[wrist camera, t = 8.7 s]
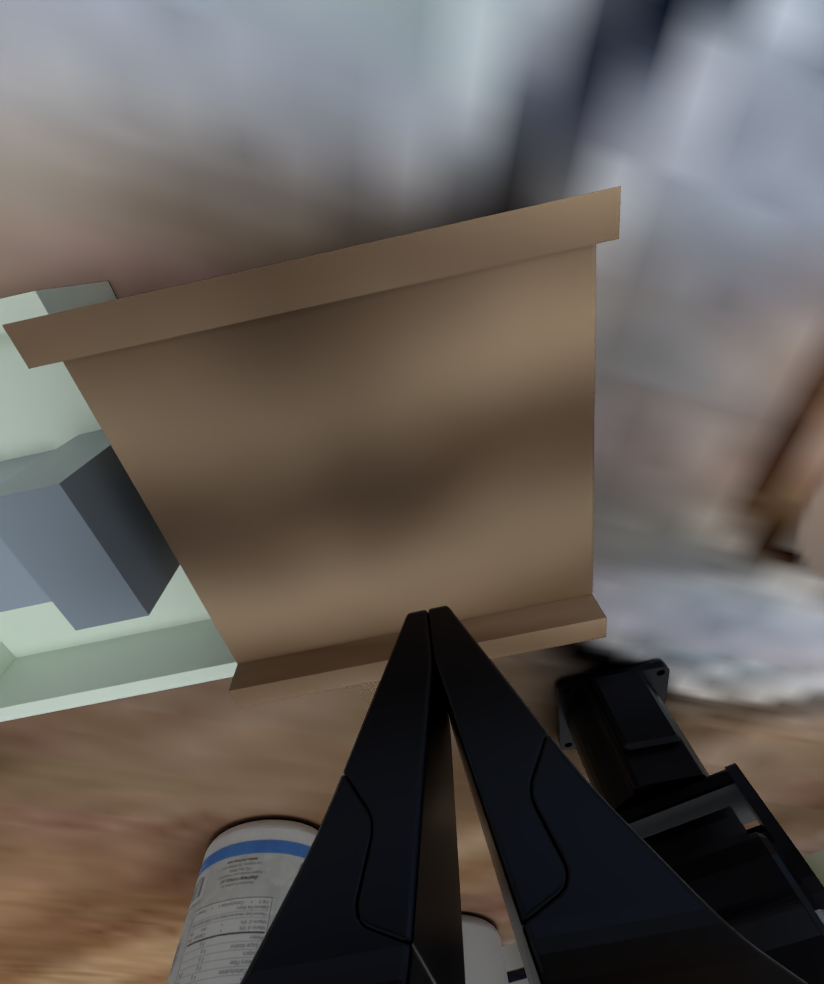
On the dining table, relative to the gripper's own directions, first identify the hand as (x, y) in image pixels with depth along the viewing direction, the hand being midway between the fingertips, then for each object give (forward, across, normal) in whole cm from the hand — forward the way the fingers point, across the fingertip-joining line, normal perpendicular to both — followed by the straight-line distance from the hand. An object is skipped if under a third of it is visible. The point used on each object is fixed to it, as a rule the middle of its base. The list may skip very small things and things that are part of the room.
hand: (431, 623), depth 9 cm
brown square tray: (+10, +1, 0) cm, 10 cm away
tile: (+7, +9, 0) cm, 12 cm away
